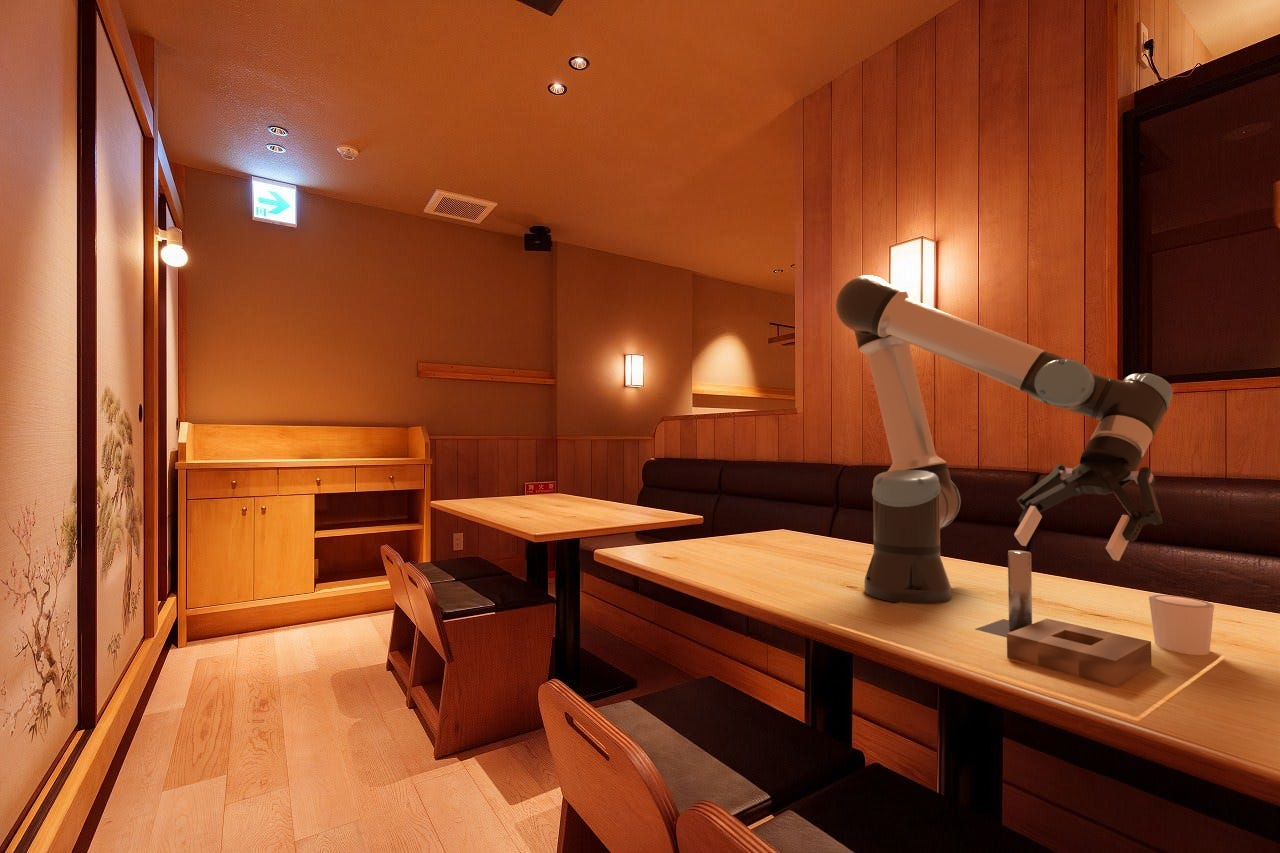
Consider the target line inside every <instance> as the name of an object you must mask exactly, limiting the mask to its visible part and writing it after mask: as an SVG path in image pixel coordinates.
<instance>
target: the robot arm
mask: <svg viewBox="0 0 1280 853" xmlns="http://www.w3.org/2000/svg"><path fill="white" fill-rule="evenodd" d="M835 309H836V314H837V317H838V319H839V320H840V321H841V323H842V325H844V326H845V327H847V328H848V329H850V330H852V331H854V334H855V335H854V336H855V340H856V343H857V349H858V351H859V352H860V353H862V354H863V355H865V356H867V359H868V362H869V367H870V370H871V375H872V379H873V380H872V381H873V384H874V389H875V393H876V397H877V401H878V406H879V410H880V414H881V418H882V422H883V428H884V431H885V435H886V440H887V444H888V447H889V448H888V449H889V452H890V458H891V462H892V464H891V466H890V467H889V469H888V470H887V471H883V472H881V473H878V474H877V475H876V476H874V479H873V482H872V483H873V486H872V488H871V489H872V490H871V495H872V515H873V516H872V518H873V519H872V520H873V521H872V523H873V527H872V529H873V553H872V557H871V560H870V562H869V564H868V569H867V571H866V574H865V577H864V593H865V594H866V595H868V596H869V597H873V598H875V599H879V600H881V601H886V602H892V603H896V604H897V603H905V604H914V605H935V604H943V603H947V602H950V601H951V599H952V586H951V583H950V581H949V577H948V574H947V571H946V569H945V566H944V564H943V561H942V557H941V530H942V529H944V528H945V527H947V526H948V525H950V524H951V523H952V522H953V521H954V520H955V518H956V517H957V515H958V513H959V511H960V508H961V495H960V492H959V489H958V487H957V485H956V484H955V483H954V482H953V481H952V480H951V474H950V472H949V471H950V470H949V468H948V465H947V461H946V460H944V459H943V458H941V457H939V455H937V453H936V449H935V445H934V444H935V443H934V440H933V437H932V433H931V429H930V425H929V421H928V417H927V412H926V409H925V408H926V407H925V404H924V399H923V396H922V391H921V388H920V383H919V380H918V376H917V372H916V368H915V364H914V359H913V355H912V352H911V348H910V346H911V345H913V346H915V347H917V348H920V349H922V350H924V351H927V352H929V353H931V354H934V355H936V356H938V357H940V358H944V359H946V360H948V361H951V362H953V363H955V364H957V365H959V366H962V367H964V368H967V369H970V370H972V371H974V372H977V373H979V374H981V375H983V376H986V377H988V378H991V379H993V380H995V381H998V382H1000V383H1002V384H1004V385H1008V386H1009V387H1011V388H1014V389H1016V390H1019V391H1021V392H1023V393H1025V394H1027V395H1030V397H1031V398H1032V399H1034V400H1036V401H1038V402H1042V403H1043V404H1045V405H1048V406H1053V407H1056V408H1059V409H1063V410H1065V411H1069V412H1072V413H1076V414H1080V415H1082V416H1085V417H1090V418H1091V419H1093V420H1099V422H1098V424H1097V425H1096V428H1095V430H1094V432H1093V433H1092V434H1091V436H1090V439H1089V440H1088V442H1087V445H1086V446H1085V448H1084V450H1083V452H1082V454H1081V455H1080V460H1079V464H1078V465H1077V466H1075V467H1074V468H1070V467H1069V468H1068V467H1065V465H1064V464H1063V463H1059V464H1057V465H1055V467H1054V469H1052V471H1051V472H1050V473H1049V474H1048V475H1046V476H1045V477H1043V478H1042V479H1041V480H1039V481H1038V482H1037V483H1036V484H1035V485H1033V486H1032V487H1031V488H1029V489H1028V490H1026V491H1024V493H1022V495H1020V496H1019V497H1017V498H1016V502H1017V503H1018V504H1019V506H1020V507H1021V508H1022V510H1023V511H1022V513H1021V514H1020V516H1019V518H1018V523H1019V525H1018V527H1017V528H1016V530H1015V532H1014V533H1013V534H1014V535H1013V536H1014V537H1015V538H1016V540H1017V541H1018V543H1019V544H1020V545H1021V546H1023V547H1027V545H1028V543H1029V542H1030V540H1031V538H1032V536H1033V534H1034V532H1035V530H1036V529H1037V527H1038V526H1039V524H1040V521H1041V519H1042V518H1043V516H1042V514H1041V513H1043V512H1045V511H1047V510H1048V509H1051V508H1053V507H1054V506H1056V505H1059V504H1060V503H1063V502H1064V501H1066V500H1068V499H1070V498H1072V497H1079V496H1081V495H1083V494H1085V495H1099V496H1100V495H1101V496H1107V495H1108V494H1112V493H1113V494H1114V495H1115V497H1116V498H1117V500H1118V501H1119V502H1120V503H1121V505H1122V507H1123V508H1124V509H1125V511H1126V512H1127V514H1122V515H1121V517H1120V519H1119V521H1118V522H1117V524H1116V526H1115V528H1114V531H1113V532H1112V534H1111V536H1110V538H1109V541H1108V543H1106V546H1105V550H1106V551H1107V553H1108V555H1109V556H1110V558H1111V559H1112V560H1113V561H1117V562H1120V560H1121V558H1122V556H1123V554H1124V552H1125V550H1126V548H1127V546H1128V544H1129V542H1135V541H1136V540H1137V539H1138V537H1139V534H1140V532H1141V531H1142V529H1143V527H1145V526H1146V525H1148V524H1153V525H1155V526H1158V525H1161V524H1163V517H1162V514H1161V510H1160V508H1159V505H1158V500H1157V497H1156V494H1155V490H1154V486H1155V482H1156V478H1155V477H1154V475H1153V473H1152V472H1151V470H1150V468H1149V467H1147V466H1143V467H1141V468H1139V465H1140V463H1141V461H1142V460H1143V457H1144V455H1145V453H1146V452H1147V450H1148V448H1149V446H1150V444H1151V442H1152V440H1153V438H1154V437H1155V434H1156V432H1157V431H1158V429H1159V426H1160V425H1161V424H1162V421H1163V419H1164V417H1165V416H1166V413H1167V412H1168V409H1169V406H1170V404H1171V401H1172V399H1173V395H1174V391H1173V388H1172V387H1173V386H1172V385H1171V384H1170V383H1169V382H1168V380H1166V379H1164V378H1163V377H1161V376H1159V375H1155V374H1153V373H1149V372H1147V373H1132V374H1129V375H1128V376H1126V377H1125V378H1124V379H1121V380H1120V379H1115V378H1111V377H1107V376H1103V375H1100V374H1097V373H1093V372H1092V370H1091V369H1090V368H1089V367H1087V365H1086V364H1085V363H1082V362H1080V361H1078V360H1075V359H1071V358H1065V357H1062V356H1059V355H1057V354H1055V353H1052V352H1048V351H1046V350H1044V349H1041V348H1039V347H1037V346H1034V345H1032V344H1028V343H1027V342H1024V341H1021V340H1019V339H1016V338H1013V337H1011V336H1008V335H1005V334H1002V333H1000V332H997V331H994V330H991V329H989V328H986V327H984V326H981V325H978V324H977V323H974V322H971V321H968V320H967V319H963V318H961V317H958V316H956V315H953V314H950V313H947V312H945V311H943V310H940V309H937V308H934V307H932V306H929V305H926V304H924V303H921V302H919V301H917V300H914V299H911V298H910V296H909V294H908V292H907V291H905V290H904V289H903V290H902V289H900V288H898V287H896V286H893V285H892V284H890V283H889V282H887V281H886V280H885V279H882V278H881V277H878V276H874V275H871V274H869V275H860V276H856V277H855V278H852V279H850V280H849V281H848V282H846V283H845V284H844V285H843V286H842V288H841V289H840V291H839V293H838V295H837V297H836V302H835ZM1138 468H1139V470H1138ZM1133 481H1135V483H1136V485H1137V486H1138V489H1139V492H1140V496H1141V500H1142V504H1143V506H1144V507H1143V508H1144V510H1143V511H1142V510H1141V511H1140V510H1139V508H1138V507H1137V506H1136V505H1135V504H1134V502H1133V501H1132V500H1131V498H1130V497H1129V495H1128V494H1127V493H1126V491H1125V489H1123V487H1125V486H1126V485H1128V484H1130V483H1132V482H1133ZM1074 483H1076V485H1077V487H1075V485H1074Z"/></svg>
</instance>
